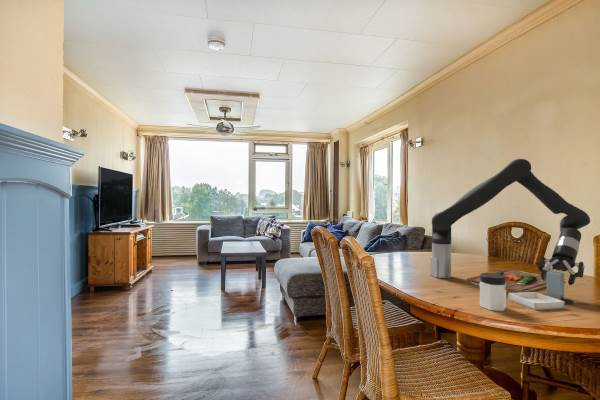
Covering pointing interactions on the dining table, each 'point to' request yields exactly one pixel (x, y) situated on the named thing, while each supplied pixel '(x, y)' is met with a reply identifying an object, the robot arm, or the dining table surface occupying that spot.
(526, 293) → the parts tray
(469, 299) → the dining table surface
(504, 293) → the jar
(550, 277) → the tall gray-blue pillar
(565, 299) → the long charcoal bar
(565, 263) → the robot arm
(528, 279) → the chopping board
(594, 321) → the dining table surface
